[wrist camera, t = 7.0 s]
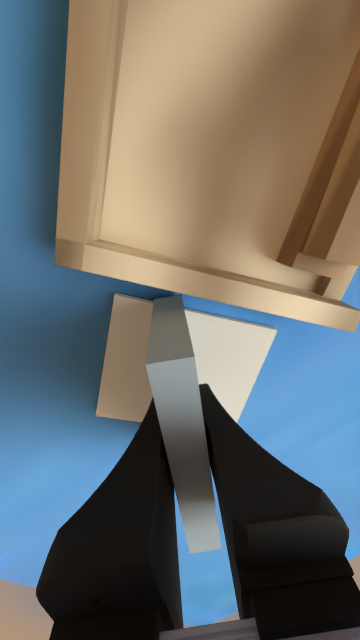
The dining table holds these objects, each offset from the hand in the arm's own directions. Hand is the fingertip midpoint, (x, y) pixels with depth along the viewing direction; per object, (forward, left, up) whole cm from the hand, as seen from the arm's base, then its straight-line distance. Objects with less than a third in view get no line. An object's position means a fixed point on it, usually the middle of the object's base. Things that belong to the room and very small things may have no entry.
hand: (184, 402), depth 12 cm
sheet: (0, 0, -2) cm, 2 cm away
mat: (0, 0, -3) cm, 3 cm away
